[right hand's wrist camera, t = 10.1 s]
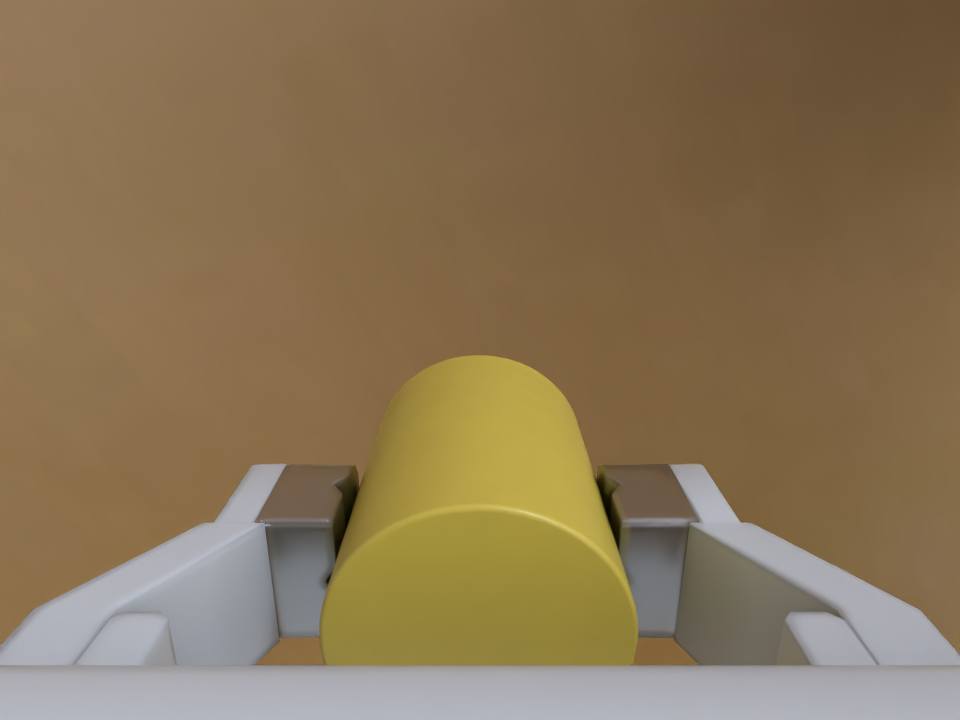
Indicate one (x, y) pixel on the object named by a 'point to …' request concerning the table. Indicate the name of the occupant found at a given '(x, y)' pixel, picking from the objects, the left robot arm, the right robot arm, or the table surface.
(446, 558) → the yellow cylinder
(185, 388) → the table surface
